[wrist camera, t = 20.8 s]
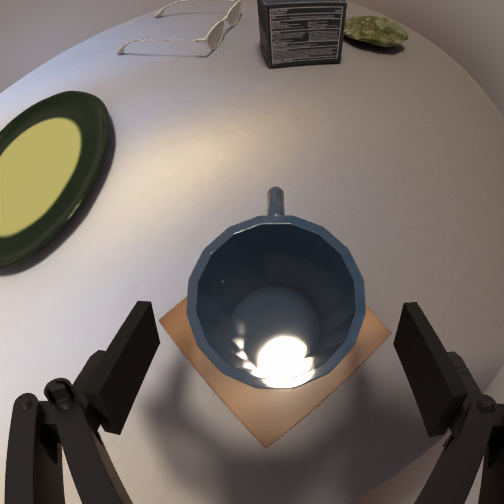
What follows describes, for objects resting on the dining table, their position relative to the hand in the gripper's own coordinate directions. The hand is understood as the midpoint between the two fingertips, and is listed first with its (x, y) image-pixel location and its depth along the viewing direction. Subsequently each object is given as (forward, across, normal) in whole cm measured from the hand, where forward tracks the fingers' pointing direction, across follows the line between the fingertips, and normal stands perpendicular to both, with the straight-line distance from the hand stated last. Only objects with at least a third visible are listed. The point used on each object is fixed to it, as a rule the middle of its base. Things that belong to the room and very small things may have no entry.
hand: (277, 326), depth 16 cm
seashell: (+40, +16, +25) cm, 50 cm away
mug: (+9, 0, -5) cm, 10 cm away
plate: (+21, -33, +6) cm, 39 cm away
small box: (+35, +4, +20) cm, 40 cm away
